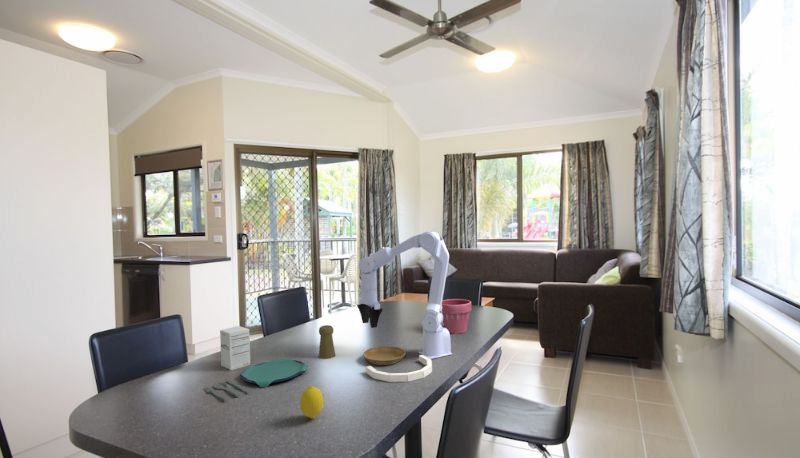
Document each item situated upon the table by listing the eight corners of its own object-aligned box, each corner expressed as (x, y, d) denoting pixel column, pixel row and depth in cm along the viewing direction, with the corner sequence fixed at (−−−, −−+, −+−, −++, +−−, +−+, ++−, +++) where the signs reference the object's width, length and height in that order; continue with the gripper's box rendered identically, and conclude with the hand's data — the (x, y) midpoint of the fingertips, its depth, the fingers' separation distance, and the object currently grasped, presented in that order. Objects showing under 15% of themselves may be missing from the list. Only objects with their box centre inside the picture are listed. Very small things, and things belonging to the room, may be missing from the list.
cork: (331, 359, 144) (330, 328, 143) (315, 358, 145) (314, 327, 145) (337, 353, 150) (336, 323, 149) (322, 353, 151) (321, 323, 151)
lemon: (302, 414, 102) (301, 382, 102) (324, 412, 103) (323, 381, 103) (299, 424, 97) (297, 391, 97) (322, 423, 97) (321, 390, 97)
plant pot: (440, 326, 183) (439, 298, 183) (471, 326, 182) (470, 298, 181) (438, 335, 169) (437, 305, 169) (472, 335, 167) (472, 304, 167)
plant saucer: (407, 353, 148) (407, 346, 148) (403, 368, 133) (403, 360, 133) (367, 353, 150) (367, 346, 150) (359, 367, 135) (359, 360, 135)
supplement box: (220, 366, 140) (219, 329, 140) (241, 360, 145) (240, 325, 145) (230, 371, 135) (228, 333, 135) (251, 364, 140) (249, 328, 140)
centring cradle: (422, 360, 139) (422, 354, 139) (444, 372, 128) (444, 366, 127) (366, 372, 129) (366, 366, 129) (384, 387, 118) (384, 380, 118)
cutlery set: (318, 373, 131) (318, 366, 131) (225, 407, 109) (225, 399, 109) (285, 360, 144) (285, 354, 144) (197, 389, 123) (197, 381, 123)
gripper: (352, 287, 156) (352, 322, 156) (367, 292, 143) (367, 331, 143) (368, 285, 159) (369, 319, 160) (385, 290, 147) (385, 328, 147)
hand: (369, 325), depth 152 cm, fingers open, 7 cm apart
